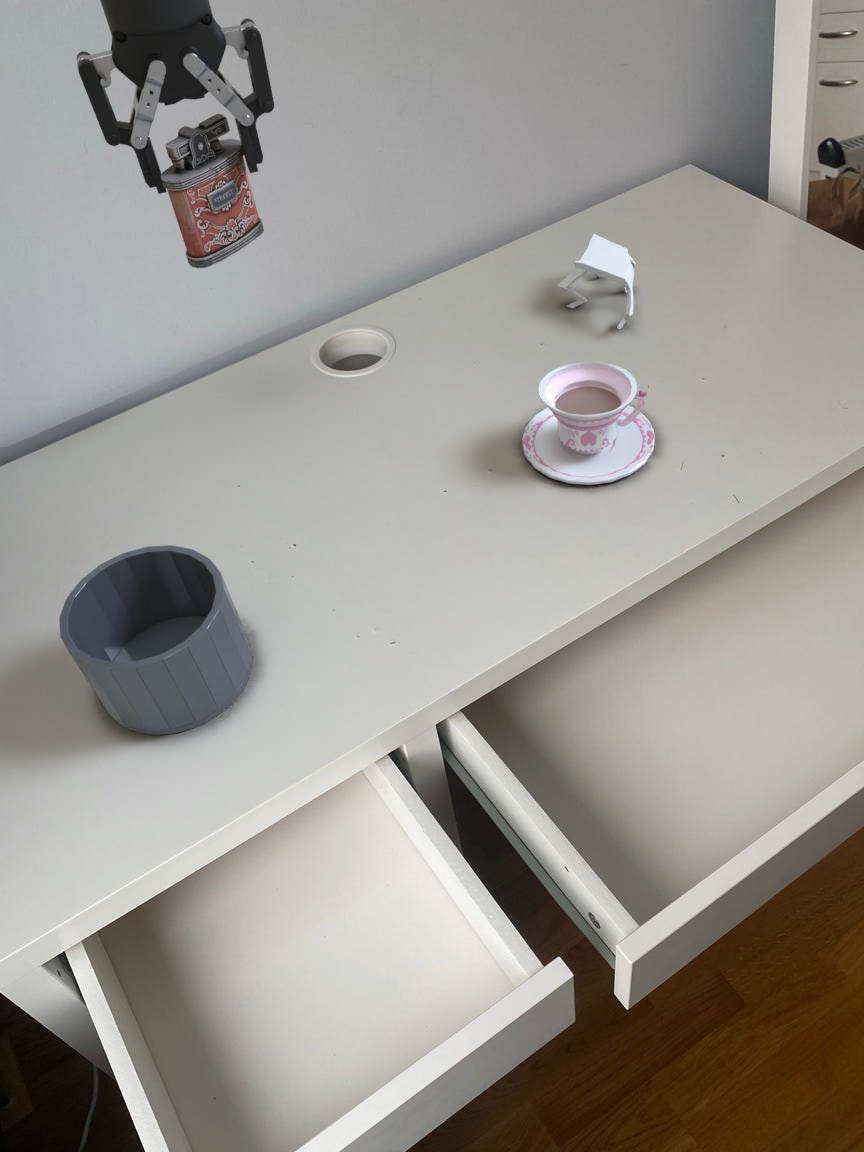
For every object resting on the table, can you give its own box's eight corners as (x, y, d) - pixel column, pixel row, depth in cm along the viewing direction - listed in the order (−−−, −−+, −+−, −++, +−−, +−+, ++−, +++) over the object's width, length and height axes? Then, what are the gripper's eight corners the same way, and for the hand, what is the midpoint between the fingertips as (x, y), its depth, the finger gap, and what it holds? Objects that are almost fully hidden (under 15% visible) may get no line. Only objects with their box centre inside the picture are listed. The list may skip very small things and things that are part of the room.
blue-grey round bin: (107, 754, 71) (62, 688, 65) (98, 639, 78) (56, 570, 72) (263, 707, 72) (234, 639, 66) (240, 599, 79) (211, 528, 73)
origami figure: (541, 294, 105) (540, 251, 101) (605, 268, 107) (606, 225, 103) (607, 346, 98) (608, 301, 94) (674, 317, 100) (677, 272, 96)
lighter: (206, 272, 83) (169, 152, 75) (179, 262, 84) (140, 143, 76) (272, 230, 86) (243, 111, 79) (246, 220, 88) (214, 103, 80)
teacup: (521, 490, 85) (518, 433, 80) (522, 405, 93) (519, 348, 88) (660, 484, 84) (665, 427, 79) (649, 399, 92) (653, 341, 87)
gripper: (231, -89, 71) (283, 142, 84) (33, -53, 69) (117, 179, 82) (248, -61, 67) (300, 179, 79) (36, -22, 65) (124, 219, 77)
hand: (207, 178), depth 81 cm, fingers closed on lighter, 7 cm apart
